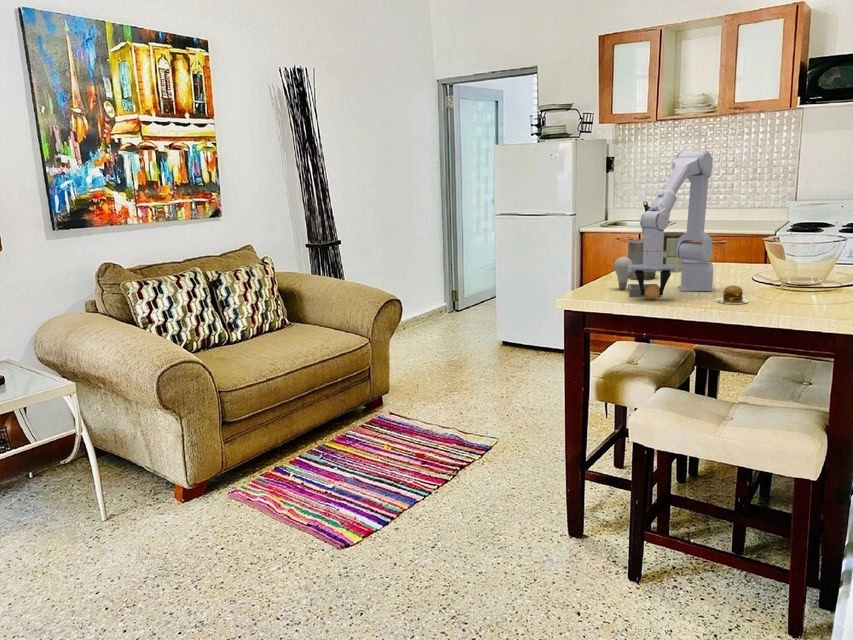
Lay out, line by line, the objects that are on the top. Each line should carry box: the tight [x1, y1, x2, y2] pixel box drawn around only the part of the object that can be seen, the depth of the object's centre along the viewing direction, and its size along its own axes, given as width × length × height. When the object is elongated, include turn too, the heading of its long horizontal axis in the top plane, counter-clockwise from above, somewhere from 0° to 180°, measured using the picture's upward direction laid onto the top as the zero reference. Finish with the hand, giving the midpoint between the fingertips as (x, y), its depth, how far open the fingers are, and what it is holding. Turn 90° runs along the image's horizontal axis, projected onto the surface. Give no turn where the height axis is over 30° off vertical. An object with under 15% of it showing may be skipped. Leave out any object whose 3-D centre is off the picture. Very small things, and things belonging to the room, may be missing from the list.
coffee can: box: [657, 231, 686, 273], centre depth 254 cm, size 10×10×14 cm
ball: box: [644, 283, 660, 301], centre depth 203 cm, size 5×5×5 cm
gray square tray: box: [627, 283, 661, 298], centre depth 211 cm, size 9×9×2 cm
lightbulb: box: [613, 256, 633, 290], centre depth 220 cm, size 6×6×11 cm
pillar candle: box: [627, 237, 657, 281], centre depth 239 cm, size 10×10×15 cm
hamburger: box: [715, 285, 749, 305], centre depth 195 cm, size 12×12×6 cm
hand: (651, 294), depth 203 cm, fingers open, 5 cm apart
